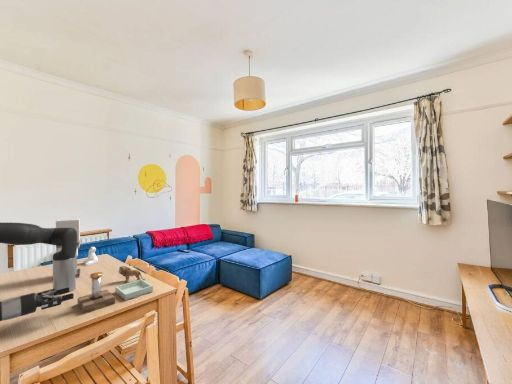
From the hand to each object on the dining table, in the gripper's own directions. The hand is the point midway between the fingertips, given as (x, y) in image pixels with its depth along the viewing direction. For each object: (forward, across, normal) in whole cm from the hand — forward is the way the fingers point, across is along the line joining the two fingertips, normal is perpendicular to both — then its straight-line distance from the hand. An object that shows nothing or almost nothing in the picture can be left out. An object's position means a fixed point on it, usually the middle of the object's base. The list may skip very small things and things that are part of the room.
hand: (71, 292), depth 103 cm
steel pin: (+9, 0, +8) cm, 13 cm away
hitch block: (+9, 0, +8) cm, 13 cm away
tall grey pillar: (+8, +52, +9) cm, 53 cm away
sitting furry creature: (+24, +71, +9) cm, 76 cm away
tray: (+26, 0, +8) cm, 28 cm away
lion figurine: (+31, +16, +9) cm, 36 cm away
